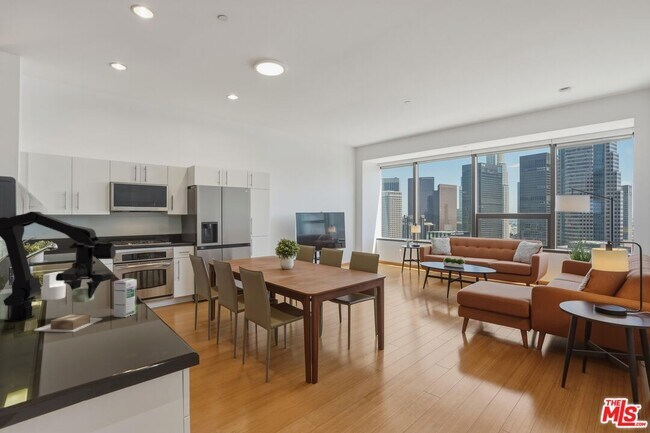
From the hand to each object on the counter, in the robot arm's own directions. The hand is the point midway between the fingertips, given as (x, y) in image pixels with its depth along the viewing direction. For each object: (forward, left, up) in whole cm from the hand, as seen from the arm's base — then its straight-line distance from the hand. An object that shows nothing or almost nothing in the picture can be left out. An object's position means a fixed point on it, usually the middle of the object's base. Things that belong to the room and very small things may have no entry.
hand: (83, 297), depth 129 cm
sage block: (0, 0, -1) cm, 1 cm away
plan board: (+4, -11, -7) cm, 14 cm away
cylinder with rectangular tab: (-34, +25, -7) cm, 43 cm away
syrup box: (+16, +2, -7) cm, 18 cm away
